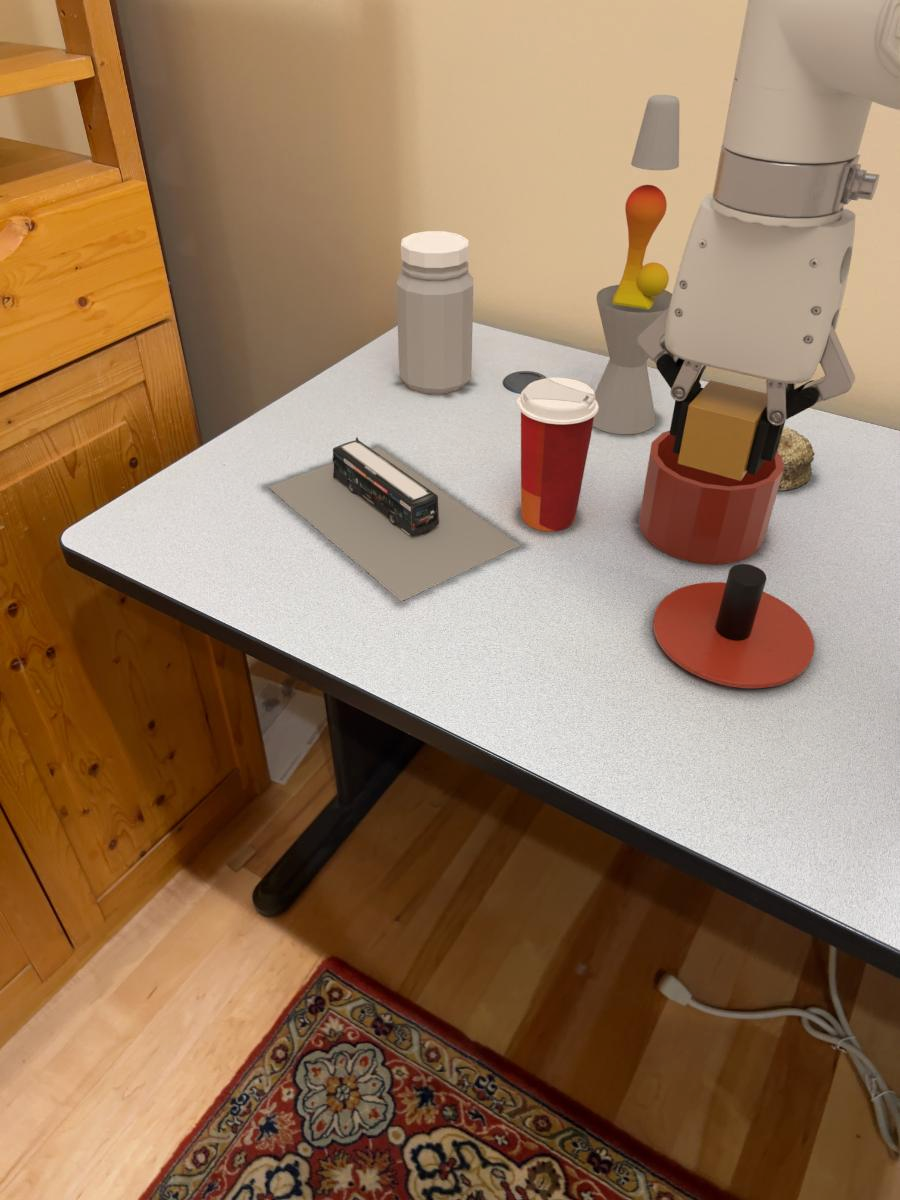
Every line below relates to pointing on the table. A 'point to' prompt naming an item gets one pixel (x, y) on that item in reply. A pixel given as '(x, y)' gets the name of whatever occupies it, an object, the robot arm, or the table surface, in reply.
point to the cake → (794, 459)
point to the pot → (705, 508)
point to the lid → (734, 632)
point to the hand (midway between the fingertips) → (719, 453)
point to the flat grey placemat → (391, 520)
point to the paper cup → (554, 449)
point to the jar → (435, 312)
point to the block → (721, 429)
